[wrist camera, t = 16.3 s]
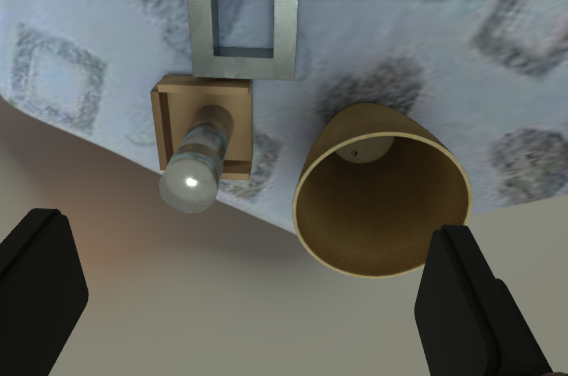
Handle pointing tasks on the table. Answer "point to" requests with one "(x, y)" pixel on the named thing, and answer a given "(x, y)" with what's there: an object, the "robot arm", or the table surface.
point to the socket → (242, 60)
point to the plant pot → (377, 193)
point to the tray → (184, 105)
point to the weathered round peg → (198, 161)
